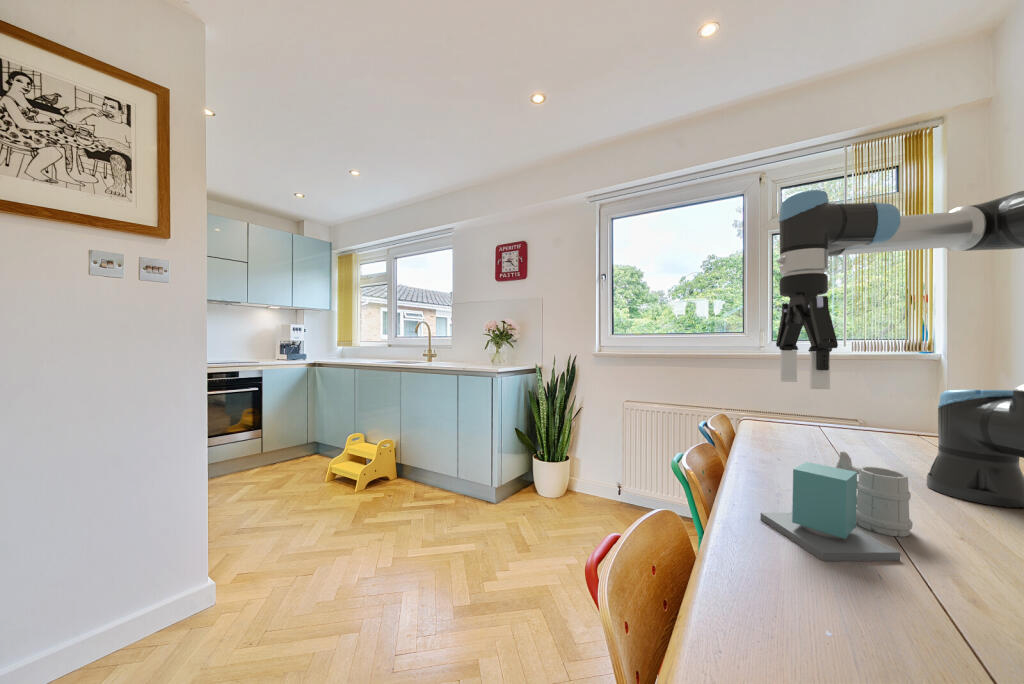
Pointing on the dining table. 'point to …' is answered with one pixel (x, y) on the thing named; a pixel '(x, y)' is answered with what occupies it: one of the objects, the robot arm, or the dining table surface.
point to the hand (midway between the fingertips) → (802, 385)
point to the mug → (881, 499)
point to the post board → (831, 541)
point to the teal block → (825, 498)
